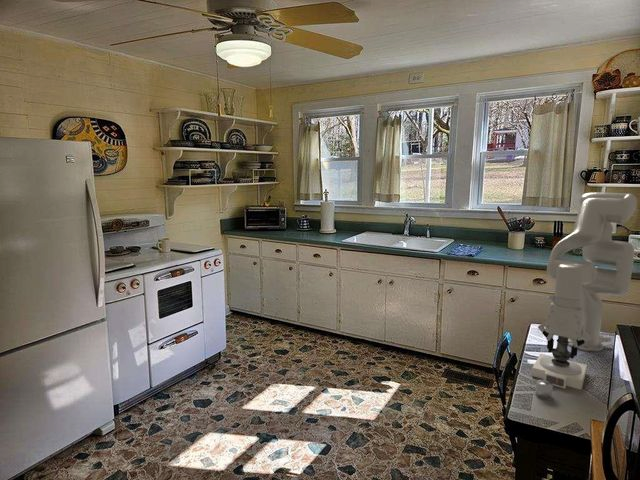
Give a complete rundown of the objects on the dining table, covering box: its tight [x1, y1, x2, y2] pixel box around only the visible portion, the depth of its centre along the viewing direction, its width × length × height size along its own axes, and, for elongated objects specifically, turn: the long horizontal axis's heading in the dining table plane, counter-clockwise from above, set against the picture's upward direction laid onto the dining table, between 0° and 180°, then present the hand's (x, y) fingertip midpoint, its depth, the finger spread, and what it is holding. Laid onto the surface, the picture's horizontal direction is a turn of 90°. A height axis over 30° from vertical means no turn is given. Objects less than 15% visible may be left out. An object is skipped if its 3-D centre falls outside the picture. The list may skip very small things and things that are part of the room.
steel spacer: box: [534, 379, 554, 401], centre depth 121 cm, size 4×4×4 cm
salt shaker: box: [551, 336, 571, 366], centre depth 134 cm, size 6×6×12 cm
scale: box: [531, 353, 588, 390], centre depth 134 cm, size 17×14×4 cm
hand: (561, 353), depth 134 cm, fingers closed on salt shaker, 5 cm apart
